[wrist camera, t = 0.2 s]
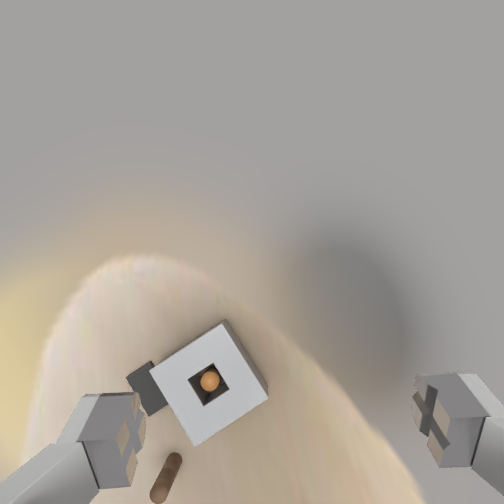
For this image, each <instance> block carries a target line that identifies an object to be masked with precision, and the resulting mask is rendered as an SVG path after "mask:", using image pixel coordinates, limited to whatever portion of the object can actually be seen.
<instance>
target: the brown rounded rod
mask: <svg viewBox="0 0 504 504" xmlns="http://www.w3.org/2000/svg"><path fill="white" fill-rule="evenodd" d="M181 463H182V458H181V456H180V455H179V454H178V453H172V454H170V455H169V456H168V458H167V460H166V462H165V464H164V466H163V468H162V470H161V472H160V474H159V475H158V477H157V479H156V481H155V483H154V485H153V487H152V489H151V491H150V499H151V500H152V502H154V503H156V504H161V503H163V502H164V501H165V500H166V498H167V495H168V493H169V491H170V488H171V486H172V484H173V482H174V479H175V477H176V475H177V472H178V470H179V468H180V465H181Z"/></svg>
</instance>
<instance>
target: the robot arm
mask: <svg viewBox="0 0 504 504" xmlns="http://www.w3.org/2000/svg"><path fill="white" fill-rule="evenodd" d="M414 386H415V387H416V389H417V392H416V393H415V394H414V395H413V396H412V403H411V408H412V414H413V418H414V421H415V423H416V425H417V427H418V429H419V431H420V432H422V433H423V434H424V435H426V436H427V437H428V443H427V446H428V448H429V450H430V452H431V453H432V455H433V457H434V459H435V461H436V463H437V465H438V466H439V468H448V467H449V468H452V467H472V469H473V470H474V471H475V472H476V473H477V474H478V475H480V476H481V477H482V478H483V479H484V480H486V481H487V482H488V483H489V484H490V485H491V486H493V487H494V488H495V489H496V490H497V491H499V492H500V493H501V494H502V495H503V496H504V406H503V405H502V404H501V403H500V402H499V400H498V399H497V398H496V397H495V396H494V395H493V394H492V392H491V391H490V390H489V389H488V388H487V387H486V385H485V384H484V383H483V382H482V381H481V380H480V378H479V377H478V376H477V375H476V374H475V373H474V372H472V371H456V372H443V373H430V374H418V375H417V376H416V378H415V382H414ZM140 403H141V399H140V396H139V393H137V392H122V393H103V394H85V395H84V396H83V397H82V398H81V399H80V401H79V403H78V405H77V406H76V408H75V410H74V412H73V413H72V415H71V417H70V419H69V421H68V422H67V424H66V426H65V428H64V430H63V431H62V433H61V435H60V437H59V439H58V440H57V442H56V444H50V445H48V446H47V447H46V448H45V449H43V450H42V451H41V452H40V453H38V454H37V455H36V456H34V457H33V458H32V459H31V460H29V461H28V462H27V463H26V464H24V465H23V466H22V467H20V468H19V469H18V470H17V471H15V472H14V473H13V474H12V475H10V476H9V477H8V478H7V479H5V480H4V481H3V482H1V483H0V504H89V503H90V502H91V500H92V499H93V498H94V497H95V496H96V495H97V493H98V492H99V489H109V488H120V487H131V483H132V480H133V477H134V473H135V470H136V467H137V464H138V462H137V458H136V454H137V453H138V451H139V450H140V449H141V448H142V447H143V443H144V439H145V432H146V420H145V415H144V413H143V412H142V411H141V410H140V409H139V406H140Z"/></svg>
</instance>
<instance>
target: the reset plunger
mask: <svg viewBox="0 0 504 504" xmlns="http://www.w3.org/2000/svg"><path fill="white" fill-rule="evenodd" d="M219 382H220V374H219V372H218V371H217V370H215V369H208V370H207V371H206V372H205V373H204V375H203V376H202V378H201V386H202V387H203V389H205V390H206V391H213V390H215V389H216V388H217V387H218V384H219Z"/></svg>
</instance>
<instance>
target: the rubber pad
mask: <svg viewBox="0 0 504 504" xmlns="http://www.w3.org/2000/svg"><path fill="white" fill-rule="evenodd" d="M153 367H154V365H153V363H152V361H150V362H149V363H147V364H146V365H144V366H143V367H141V368H140V369H138V370H136V371H135V372H133V373H132V374H130V375H129V376H127V377H126V379H127V380H128V382H129V384H130V385H131V387H132V389H133V391H134V392H137V393H139V396H140V399H141V404H142V406H143V407H144V409H145V411H146V413H147V414H148V416H151V415H152V414H154V413H155V412H157V411H158V410H160V409H162V408H163V407H165V406H166V405H168V404H169V403H168V402H167V400H166V398H165V397H164V395H163V393H162V392H161V390H160V388H159V387H158V385H157V383H156V382H155V380H154V378H153V377H152V375H151V373H150V372H149V370H151V369H152V368H153Z"/></svg>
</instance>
